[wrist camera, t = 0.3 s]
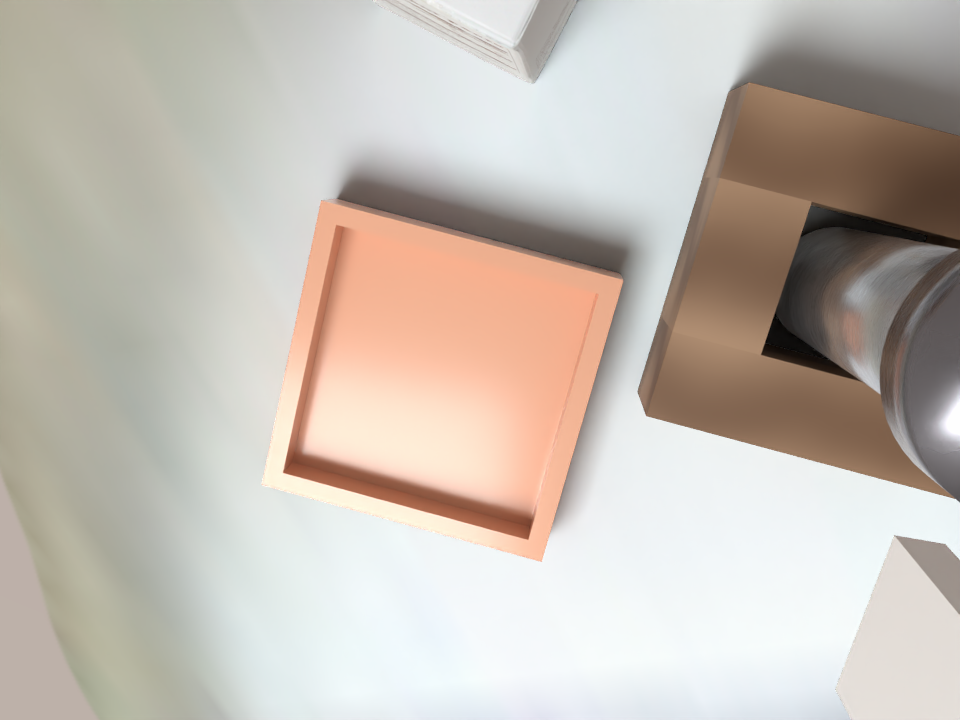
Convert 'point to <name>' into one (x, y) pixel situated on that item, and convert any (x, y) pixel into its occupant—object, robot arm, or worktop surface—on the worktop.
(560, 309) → the tray
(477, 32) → the supplement box
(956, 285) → the metal plug
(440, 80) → the worktop surface
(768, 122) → the bore block
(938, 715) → the robot arm
